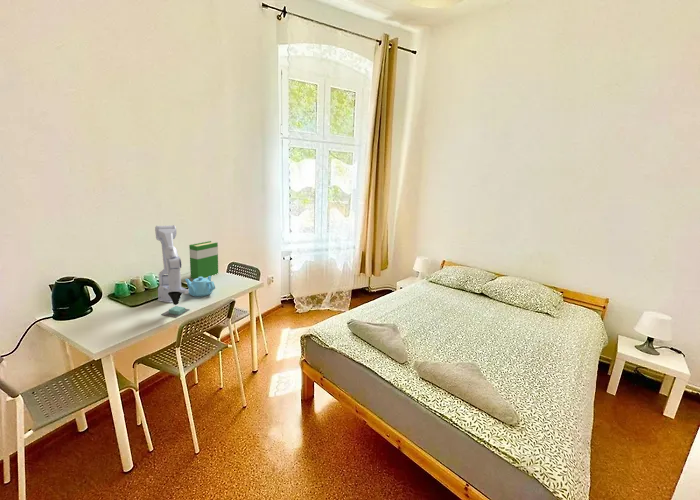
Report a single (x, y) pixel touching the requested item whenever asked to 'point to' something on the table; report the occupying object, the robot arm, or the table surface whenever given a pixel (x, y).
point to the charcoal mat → (173, 314)
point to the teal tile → (177, 310)
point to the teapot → (200, 286)
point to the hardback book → (203, 259)
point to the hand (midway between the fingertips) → (176, 304)
